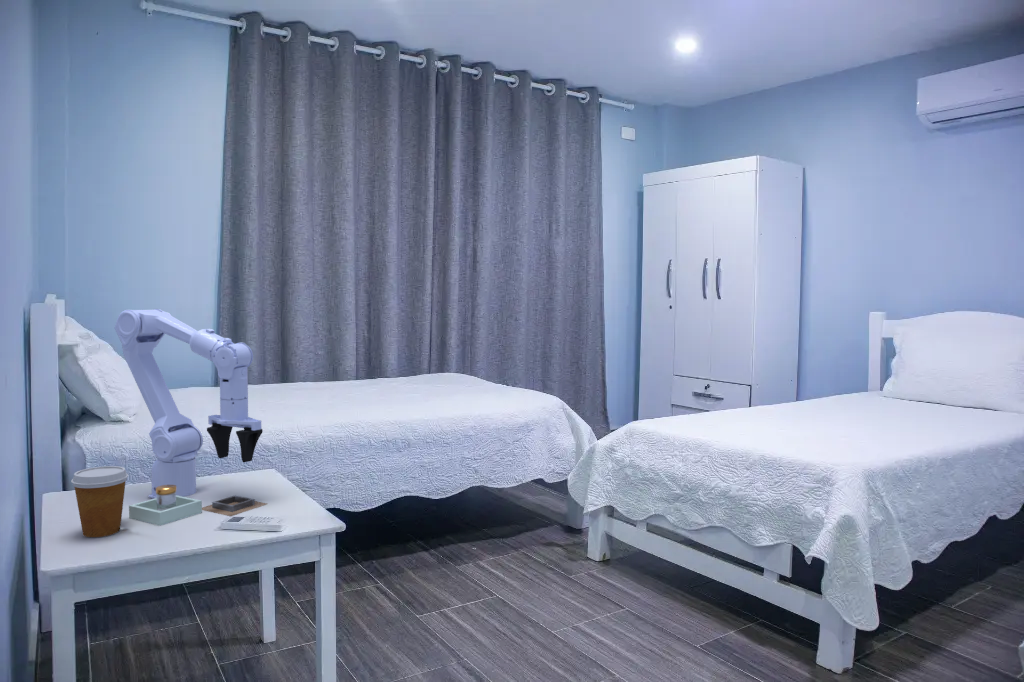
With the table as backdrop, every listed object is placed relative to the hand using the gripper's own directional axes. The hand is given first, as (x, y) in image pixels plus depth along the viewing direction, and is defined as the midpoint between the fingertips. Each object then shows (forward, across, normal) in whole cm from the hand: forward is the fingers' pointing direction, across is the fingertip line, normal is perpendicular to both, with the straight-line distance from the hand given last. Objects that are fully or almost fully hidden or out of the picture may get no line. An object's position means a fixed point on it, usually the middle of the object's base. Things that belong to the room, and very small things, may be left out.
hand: (235, 459), depth 157 cm
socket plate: (+10, +4, -4) cm, 11 cm away
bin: (+10, -3, -15) cm, 18 cm away
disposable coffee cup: (+10, -7, -26) cm, 29 cm away
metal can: (+9, -3, -15) cm, 18 cm away
